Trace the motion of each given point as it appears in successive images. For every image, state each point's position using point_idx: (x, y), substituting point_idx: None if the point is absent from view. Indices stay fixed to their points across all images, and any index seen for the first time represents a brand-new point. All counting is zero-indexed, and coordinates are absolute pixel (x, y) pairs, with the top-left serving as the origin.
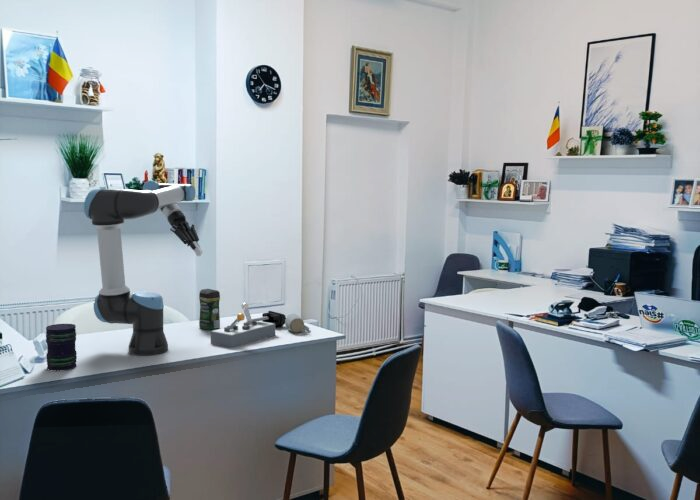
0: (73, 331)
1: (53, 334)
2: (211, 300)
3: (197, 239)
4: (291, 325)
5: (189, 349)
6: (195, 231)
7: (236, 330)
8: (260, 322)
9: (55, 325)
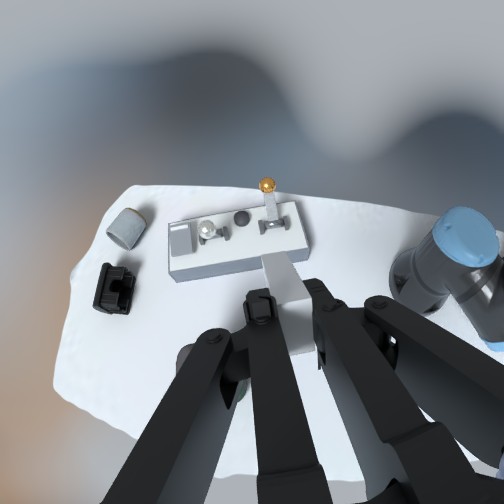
0: None
1: None
2: None
3: (247, 300)
4: (143, 218)
5: (359, 247)
6: (143, 442)
7: (265, 220)
8: None
9: None
